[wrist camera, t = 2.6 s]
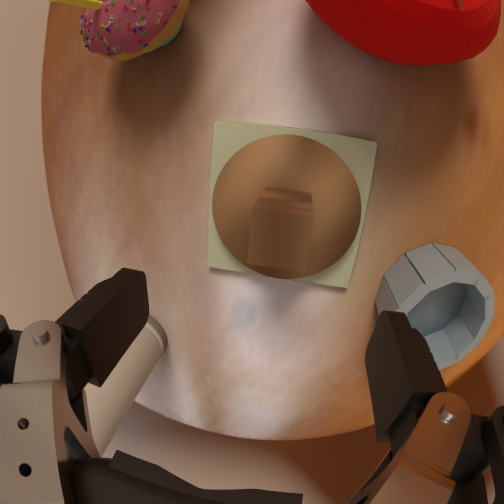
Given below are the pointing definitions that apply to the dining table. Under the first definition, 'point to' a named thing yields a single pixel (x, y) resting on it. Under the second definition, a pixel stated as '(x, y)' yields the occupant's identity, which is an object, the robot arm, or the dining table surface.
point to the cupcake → (129, 25)
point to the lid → (286, 206)
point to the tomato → (414, 27)
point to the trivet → (347, 148)
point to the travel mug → (123, 384)
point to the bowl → (440, 300)
